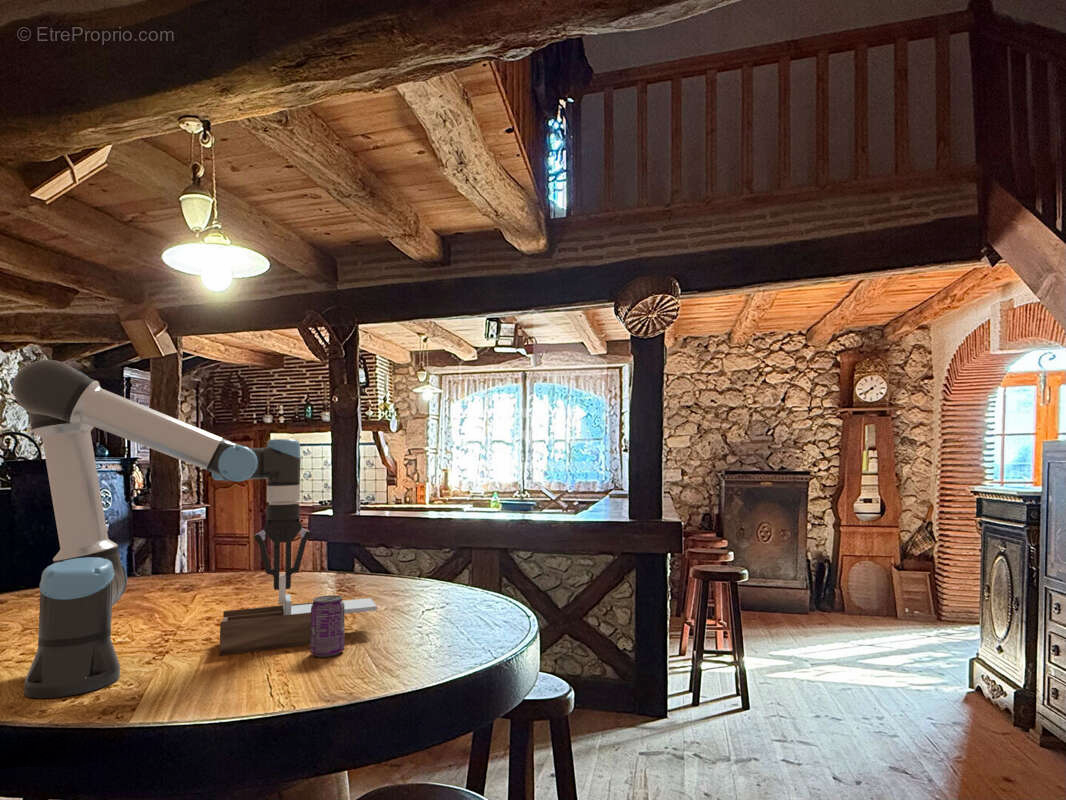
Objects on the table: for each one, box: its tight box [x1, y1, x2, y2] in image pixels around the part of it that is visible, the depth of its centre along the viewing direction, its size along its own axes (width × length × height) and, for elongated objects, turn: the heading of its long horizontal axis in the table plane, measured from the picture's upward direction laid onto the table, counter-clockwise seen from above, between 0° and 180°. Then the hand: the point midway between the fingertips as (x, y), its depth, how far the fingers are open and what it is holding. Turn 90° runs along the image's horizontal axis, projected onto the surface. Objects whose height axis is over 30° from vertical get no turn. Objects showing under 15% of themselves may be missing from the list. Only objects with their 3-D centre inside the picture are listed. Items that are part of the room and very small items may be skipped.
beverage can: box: [310, 594, 345, 658], centre depth 143 cm, size 7×7×12 cm
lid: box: [283, 593, 378, 615], centre depth 158 cm, size 11×21×4 cm, turn 112°
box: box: [219, 601, 314, 657], centre depth 153 cm, size 12×22×7 cm, turn 112°
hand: (282, 603), depth 154 cm, fingers closed
